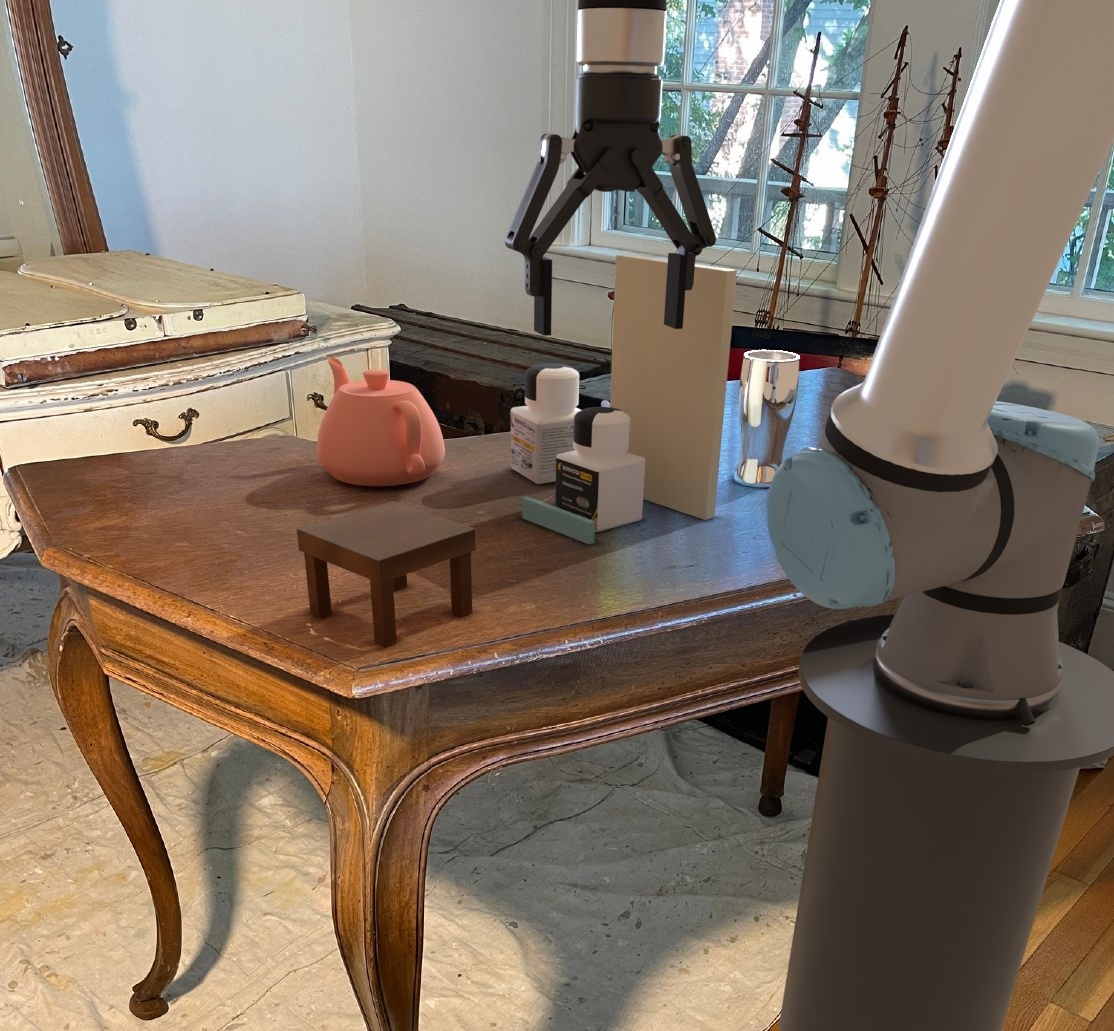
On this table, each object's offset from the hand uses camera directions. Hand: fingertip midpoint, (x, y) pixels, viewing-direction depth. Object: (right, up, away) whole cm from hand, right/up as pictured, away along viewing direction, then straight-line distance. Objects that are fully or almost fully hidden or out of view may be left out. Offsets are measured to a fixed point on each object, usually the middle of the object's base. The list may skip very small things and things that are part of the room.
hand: (609, 330), depth 106 cm
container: (-6, -6, +33) cm, 34 cm away
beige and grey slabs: (+1, -14, +19) cm, 24 cm away
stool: (-20, -28, -6) cm, 35 cm away
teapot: (-27, -6, +32) cm, 43 cm away
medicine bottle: (0, -15, +18) cm, 23 cm away
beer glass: (+20, -7, +32) cm, 38 cm away
